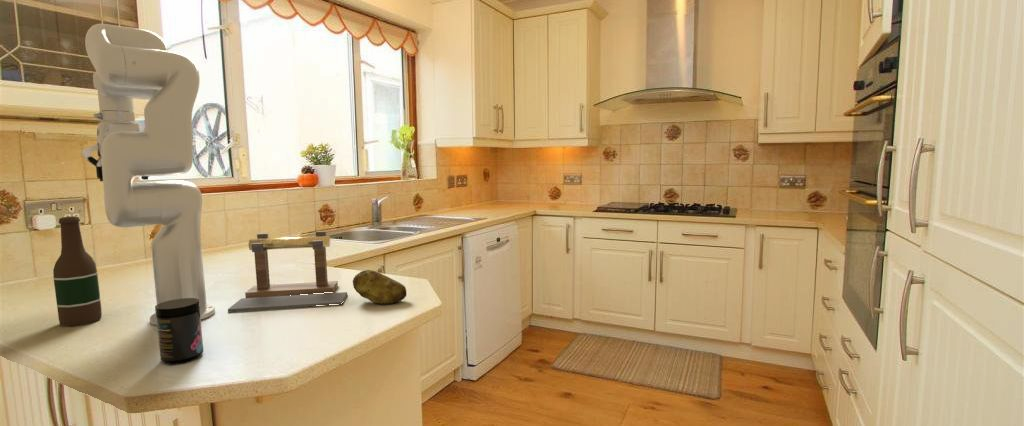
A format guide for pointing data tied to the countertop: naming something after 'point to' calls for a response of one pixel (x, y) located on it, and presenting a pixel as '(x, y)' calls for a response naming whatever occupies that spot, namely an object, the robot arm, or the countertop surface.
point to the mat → (287, 301)
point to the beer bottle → (75, 278)
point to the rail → (290, 242)
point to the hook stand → (289, 289)
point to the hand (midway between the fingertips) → (124, 180)
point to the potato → (378, 287)
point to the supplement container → (179, 330)
